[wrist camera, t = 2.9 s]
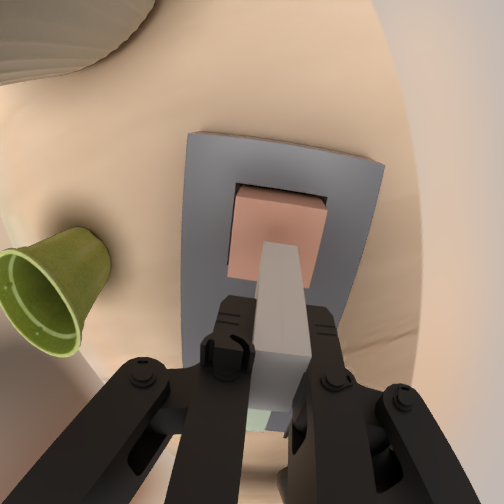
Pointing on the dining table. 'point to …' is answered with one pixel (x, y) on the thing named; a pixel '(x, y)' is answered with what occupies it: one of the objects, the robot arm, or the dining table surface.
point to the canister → (62, 34)
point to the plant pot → (53, 288)
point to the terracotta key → (274, 229)
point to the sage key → (257, 420)
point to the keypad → (222, 213)
